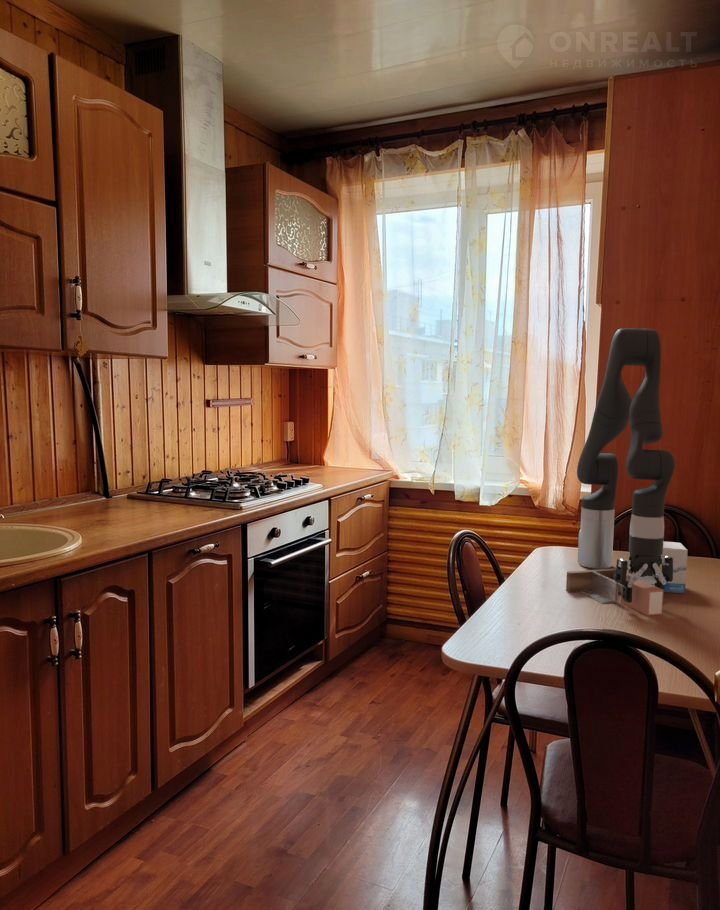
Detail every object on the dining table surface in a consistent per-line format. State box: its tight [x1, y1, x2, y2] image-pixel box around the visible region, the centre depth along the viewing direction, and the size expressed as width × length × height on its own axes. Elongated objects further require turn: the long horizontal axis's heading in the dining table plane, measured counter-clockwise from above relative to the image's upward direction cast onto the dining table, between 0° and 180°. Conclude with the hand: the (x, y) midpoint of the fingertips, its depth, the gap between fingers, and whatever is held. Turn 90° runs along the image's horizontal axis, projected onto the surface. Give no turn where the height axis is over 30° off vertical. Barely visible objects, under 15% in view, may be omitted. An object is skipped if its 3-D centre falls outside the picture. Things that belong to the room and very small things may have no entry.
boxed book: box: [620, 579, 664, 617], centre depth 168 cm, size 10×4×6 cm, turn 16°
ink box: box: [646, 541, 689, 594], centre depth 184 cm, size 9×8×12 cm
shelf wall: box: [565, 567, 629, 593], centre depth 183 cm, size 2×18×5 cm, turn 105°
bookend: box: [579, 572, 619, 604], centre depth 176 cm, size 10×4×5 cm, turn 15°
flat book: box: [613, 572, 657, 594], centre depth 179 cm, size 10×7×4 cm
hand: (642, 600), depth 167 cm, fingers open, 8 cm apart
